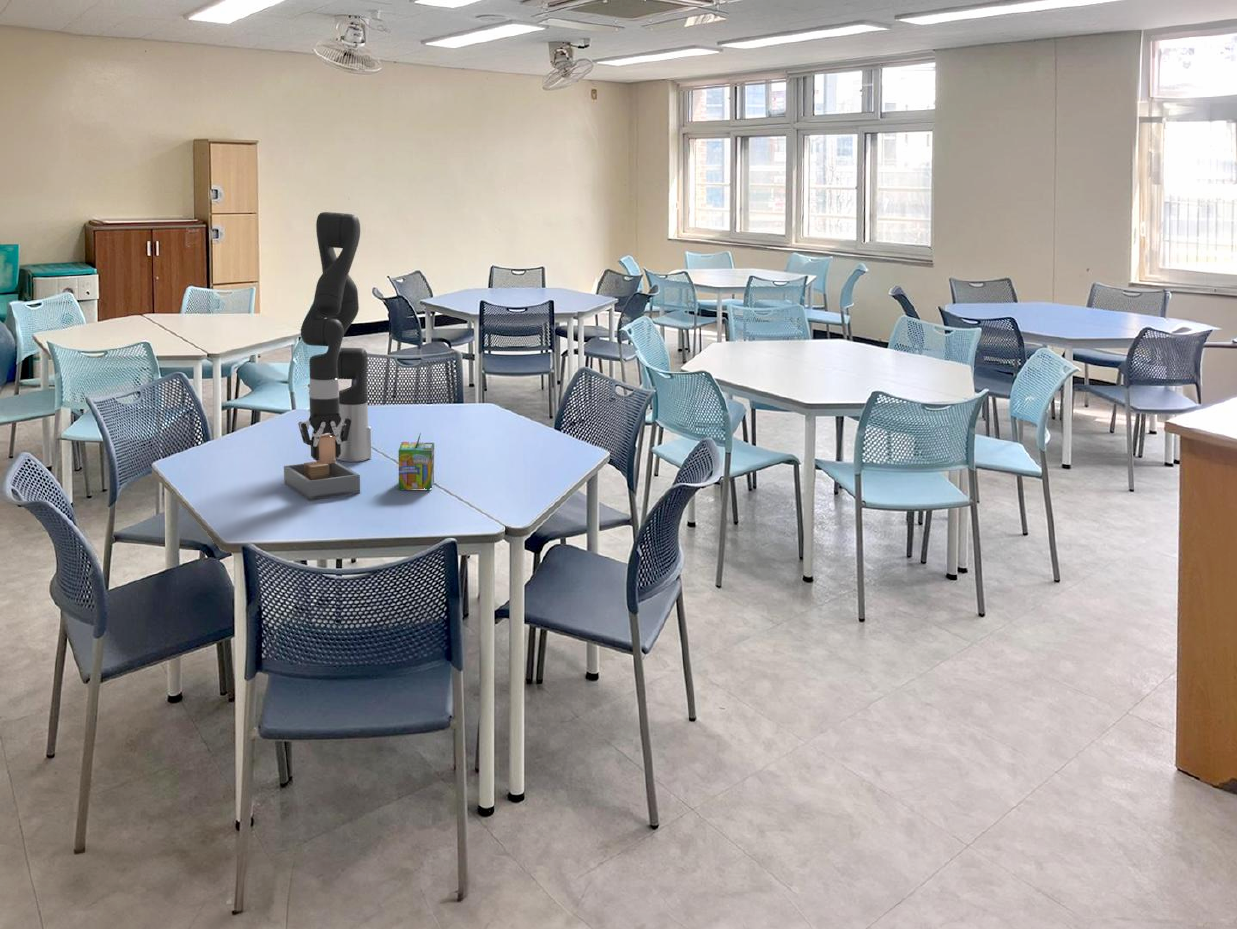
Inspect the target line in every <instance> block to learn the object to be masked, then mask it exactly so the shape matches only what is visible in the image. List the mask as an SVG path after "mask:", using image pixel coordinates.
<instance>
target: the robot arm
mask: <svg viewBox="0 0 1237 929" xmlns="http://www.w3.org/2000/svg"><path fill="white" fill-rule="evenodd" d="M317 215H318V216H317V217H316V224H315V226H316V227H315V228H316V230H315V231H316V238H317V245H318V251H319V257H320V263H321V269H322V270H321V271H322V274H321V275H320V277H319V279H318V280H317V282H316V288H315V292H314V296H313V297H314V298H313V301H312V304H311V307H310V309H309V311H308V313H307V314H306V316H305V318H304V320H303V322H302V324H301V326H300V337H301V340H302V341H303V343H304V344H305V345H307V346H313V347H314V346H315V347H317V346H318V347H327V350H326V352H324V353H319V354H315V355H312V356H310V358H309V362H308V363H309V366H308V367H309V384H308V385H309V386H308V396H309V418H308V420H306V421H299V422H298V427H299V432H300V434H301V436H300V437H301V439H302V442H303V444H306V445H307V446H310V456H311V458H313V460H315V461H316V460H319V452H318V446H317V445H318V442H319V439H320V438H321V436H322V434H332V435H334V436H335V447H336V460H338V461H341V462H349V463H350V462H362V461H367V460H369V459H372V431H371V430H372V428H371V427H370V426H369V417H368V416H369V412H368V410H369V409H368V370H369V369H368V368H369V364H368V363H369V358H368V353H367V350H366V349H365V348H361V347H342V342H343V339H344V335H345V334H346V332H347V330H348V329H349V327H350V326H351V325H352V324H353V322H354V321H355V319H356V317H357V315H358V312H359V310H360V307H359V293H358V288H357V284H356V283H355V282H354V280H353V278H352V276H350V275H349V273H350V270H351V267H352V265H353V262H354V258H355V256H356V252H357V249H358V247H359V243H360V238H361V222H360V220H359V217H358V216H357V215H355V214H354V213H353V214H352V213H343V212H331V211H325V212H324V211H322V212H320V213H319V214H317ZM335 249H341V250H340V253H339V254H338V256H337V255H336V252H335ZM339 380H355V383H354V384H353V385H351V386H349V387H346V388H344V389H341V390H340V384H339ZM310 426H311V427H312V432H311V437H310V434H309V429H310Z"/></svg>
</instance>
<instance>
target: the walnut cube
mask: <svg viewBox="0 0 1237 929" xmlns="http://www.w3.org/2000/svg"><path fill="white" fill-rule="evenodd" d="M303 464H304V476H305V477H306V478H308V479H309V480H319V479H326V478H329V465H328V464H320V463H317V462H316V461H309V462H303Z"/></svg>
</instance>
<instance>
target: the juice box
mask: <svg viewBox="0 0 1237 929" xmlns="http://www.w3.org/2000/svg"><path fill="white" fill-rule="evenodd" d="M421 435H422V432H420V433H419V435H418V438H417V441H401V443H400V444H399V445H400V446H399V448H398V491H402V490H401V489H424V488H425V489H430V488H432V489H433V487H434V484H433V482H434V483H435V442H424V441H423V442H420V439H421V438H420V437H421ZM432 486H433V487H432Z"/></svg>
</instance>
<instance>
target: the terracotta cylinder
mask: <svg viewBox="0 0 1237 929" xmlns="http://www.w3.org/2000/svg"><path fill="white" fill-rule="evenodd" d="M317 446H318V452H319V460H315V462H317V463H320V464H331V463H335V462H337V458H336V447H335V436H334V435H332V434H330V433H325V434H322V436H321V438H320V439H319V442H318V445H317Z"/></svg>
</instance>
